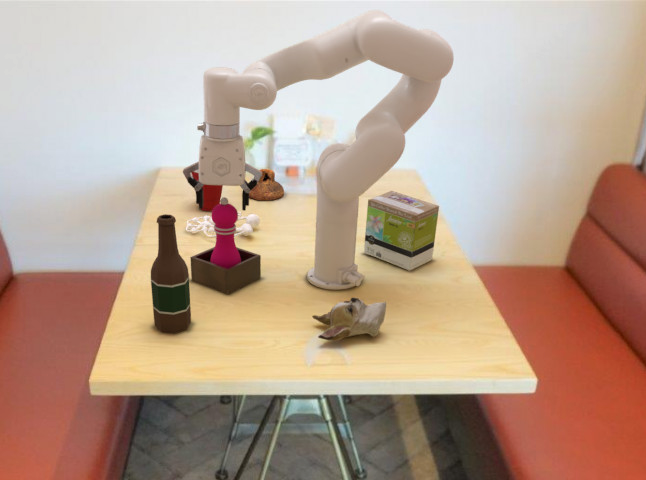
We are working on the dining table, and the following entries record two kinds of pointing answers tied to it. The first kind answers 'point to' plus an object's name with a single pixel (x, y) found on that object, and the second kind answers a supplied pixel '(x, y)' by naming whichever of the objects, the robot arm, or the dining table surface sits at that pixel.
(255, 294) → the dining table surface
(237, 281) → the box
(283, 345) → the dining table surface
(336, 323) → the ceramic sculpture
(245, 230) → the tangled rod sculpture
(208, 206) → the plastic cup
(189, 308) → the beer bottle
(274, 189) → the bell
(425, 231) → the tea box
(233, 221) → the pepper mill
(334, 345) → the dining table surface
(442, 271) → the dining table surface
